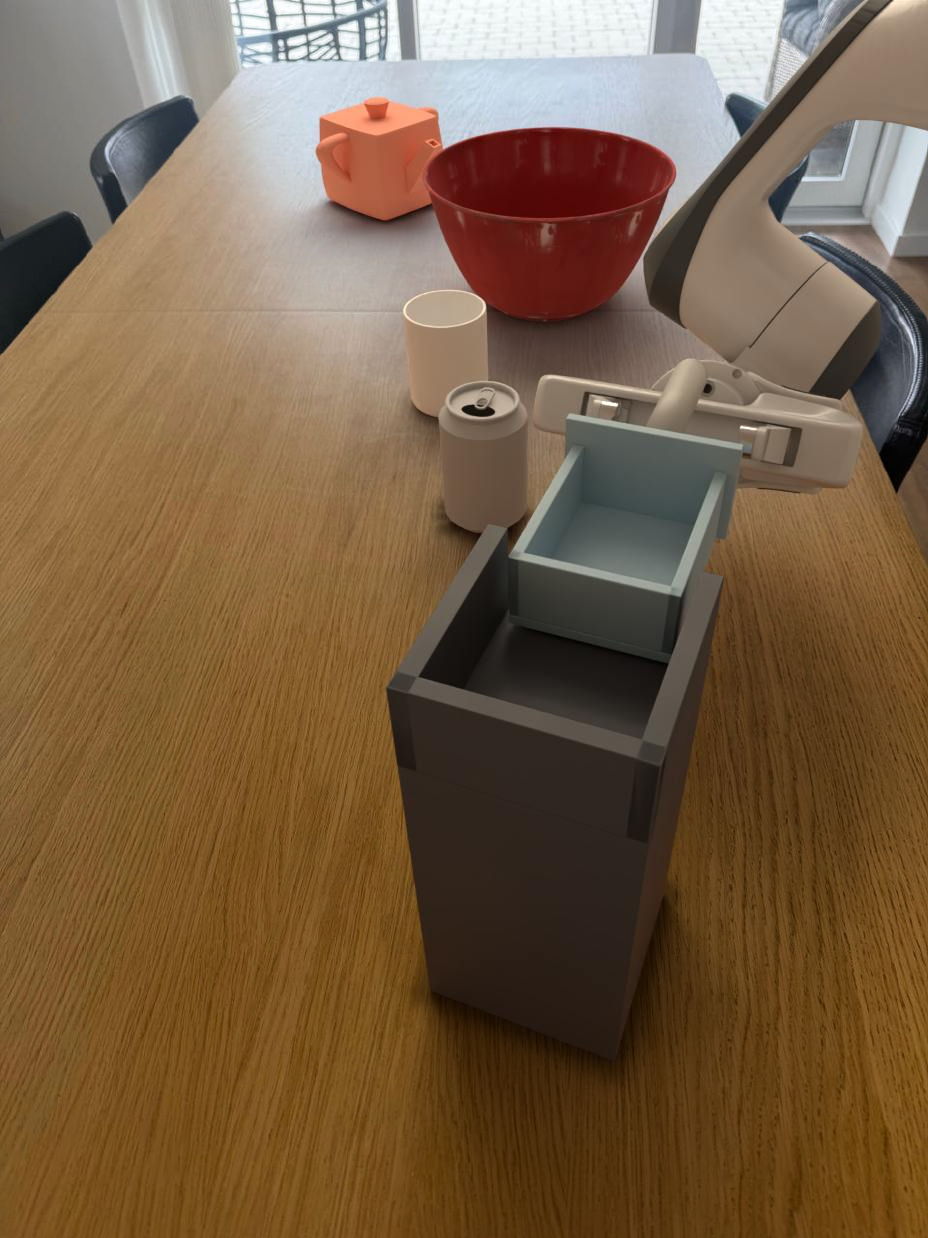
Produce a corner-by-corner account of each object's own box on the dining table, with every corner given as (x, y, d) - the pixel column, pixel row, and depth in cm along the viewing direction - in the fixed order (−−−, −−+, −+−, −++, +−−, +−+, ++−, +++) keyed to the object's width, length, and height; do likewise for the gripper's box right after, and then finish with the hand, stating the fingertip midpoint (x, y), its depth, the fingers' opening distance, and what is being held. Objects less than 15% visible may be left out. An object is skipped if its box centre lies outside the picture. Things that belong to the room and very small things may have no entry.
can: (432, 529, 87) (422, 413, 78) (463, 482, 92) (457, 368, 83) (511, 546, 85) (509, 428, 76) (538, 497, 90) (539, 382, 81)
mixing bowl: (707, 284, 120) (724, 152, 109) (572, 379, 105) (577, 237, 94) (526, 232, 134) (526, 111, 123) (384, 310, 118) (370, 179, 108)
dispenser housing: (664, 893, 60) (724, 575, 42) (614, 1062, 52) (661, 766, 34) (498, 838, 63) (487, 523, 45) (429, 991, 56) (385, 687, 38)
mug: (440, 358, 109) (434, 270, 102) (509, 368, 107) (508, 278, 100) (399, 413, 101) (389, 321, 94) (473, 425, 99) (469, 332, 92)
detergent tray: (761, 435, 58) (778, 349, 54) (681, 667, 44) (696, 575, 40) (615, 409, 60) (621, 326, 57) (498, 621, 47) (496, 530, 43)
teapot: (296, 209, 143) (280, 107, 134) (409, 169, 154) (401, 71, 144) (381, 246, 132) (370, 138, 123) (496, 200, 143) (494, 96, 133)
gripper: (570, 356, 70) (512, 345, 57) (867, 404, 64) (875, 403, 51) (555, 443, 72) (494, 451, 59) (842, 498, 65) (844, 520, 53)
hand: (674, 429), depth 55 cm, fingers open, 7 cm apart
